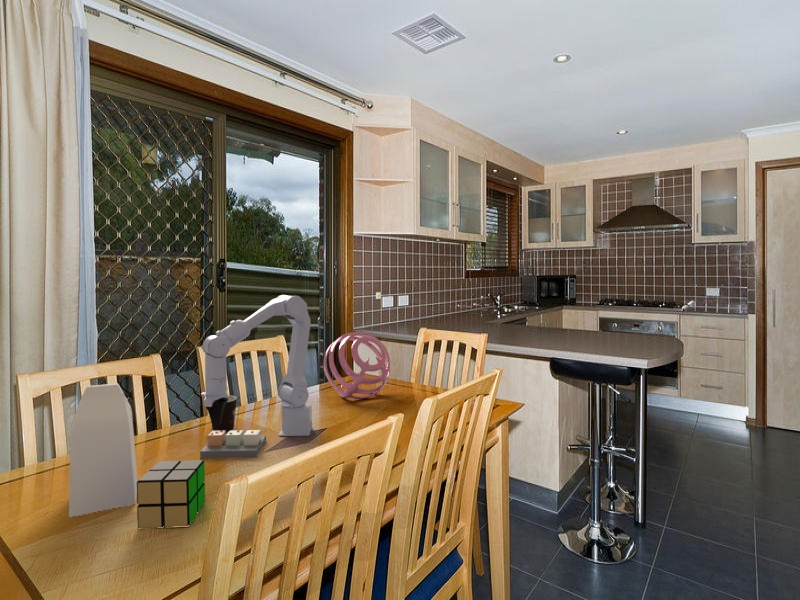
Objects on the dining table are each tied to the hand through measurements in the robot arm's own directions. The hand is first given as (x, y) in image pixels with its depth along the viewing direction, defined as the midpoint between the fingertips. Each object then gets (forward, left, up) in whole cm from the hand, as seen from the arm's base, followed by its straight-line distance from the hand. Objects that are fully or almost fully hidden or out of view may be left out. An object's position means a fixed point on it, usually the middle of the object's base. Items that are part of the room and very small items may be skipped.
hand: (216, 424), depth 132 cm
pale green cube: (-5, 0, -6) cm, 8 cm away
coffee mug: (+3, -19, -8) cm, 21 cm away
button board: (-5, 0, -8) cm, 9 cm away
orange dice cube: (0, 0, -6) cm, 6 cm away
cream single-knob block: (-10, 0, -6) cm, 12 cm away
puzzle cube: (-3, +36, -8) cm, 37 cm away
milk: (+15, +28, -8) cm, 33 cm away
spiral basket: (-40, -55, -8) cm, 68 cm away
